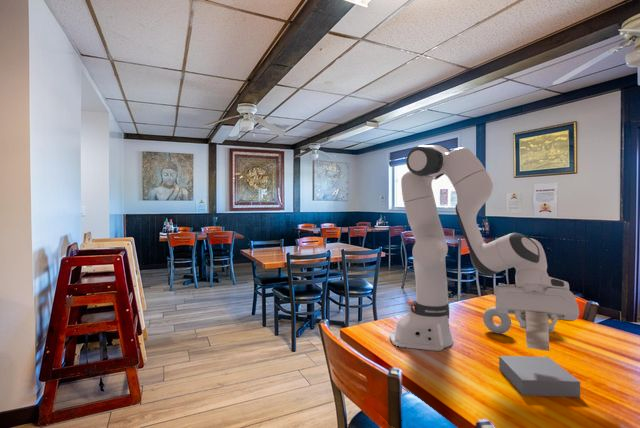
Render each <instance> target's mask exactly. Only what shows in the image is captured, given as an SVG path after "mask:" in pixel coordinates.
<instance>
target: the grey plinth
mask: <svg viewBox="0 0 640 428" xmlns="http://www.w3.org/2000/svg"><path fill="white" fill-rule="evenodd" d="M498 364H499V365H498V369H499V370H500V372H501V373H502V374H503V375H504V377H506V379H508V381H509V382H510V383H511V384H512V385H513V386H514V388H516V390H517V391H518V392H519V393H520V394H521V396H532V397H534V396H535V397H536V396H537V397H538V396H539V397H561V398H563V397H567V398H581V381H580V380H579V379H577V378H576V377H575V376H574V375H572V374H570V372H569V371H567V370H566V369H565V368H564V367H562V366H561V365H559V364H558V363H557V362H556V361H555V360H554V359H552V358H551V357H549V356H525V355H524V356H523V355H522V356H521V355H520V356H517V355H498Z"/></svg>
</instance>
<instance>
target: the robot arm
mask: <svg viewBox="0 0 640 428" xmlns="http://www.w3.org/2000/svg"><path fill="white" fill-rule="evenodd" d="M405 161H406V166H407V169H408V170H409V171H407V172H406V173H404V174H403V175H402V177H401V182H400V183H401V186H400V187H401V195H402V201H403V205H404V209H405V213H406V218H407V221H408V226H410V230H411V232H412V235H413V237H414V238H413V239H414V242H415V243H414V244H413V246H412V253H411V254H412V260H413V262H412V263H413V271H414V277H415V278H414V279H415V299H416V300H415V301H413V300H412V299H409V300H408V301H407V304H408V306H409V307H410V311H409V312H408V313H406V314H404V315H403V316H402V317H400V318H399V319H398V320H397V323H396V327H395V329H394V330H392V331H391V332H390V335H389V339H391V340H390V342H391V341H392V342H391V344H393V345H394V346H395V345H396V346H395V347H397V346H399V347H398V348H405V347H406V348H407V349H415V350H417V349H418V350H427V351H436V352H440V351H443V350H444V348H445V349H446V348H447V347H450V346H452V345H453V344H454V340H453V336H452V331H451V328H450V321H449V319H450V304H449V302H448V277H447V267H446V263H447V262H446V256H447V254H448V251H449V247H448V246H449V245H448V243H447V239H446V235H445V232H444V229H443V225H442V223H441V219H440V217H439V212H438V207H437V203H436V199H435V195H434V191H433V187H432V183H433V180H438V179H439V178H441V177H442V176H444V175H445V176H446V177H447V178H448V179H449V181H450V183H451V185H452V187H453V188H454V190H455V193H456V199H457V200H456V202H457V203H456V205H455V208H454V209H455V213H456V217H457V220H458V222H459V226H460V229H461V231H462V233H463V234H462V235H463V236H464V240H465V242H466V245H467V248H468V250H469V251H468V252H469V256H470V261H471V265H472V266H473V268H474V269H475V270H476V271H477V272H478V273H479V274H483V275H484V276H488V277H492V276H494V275H496V274H498V273H501V272H502V271H505V270H508V269H512V268H514V269H515V276H514V278H515V284H505V283H504V284H503V283H500V284H498V285H495V286H494V288H493V294H494V295H495V302H494V303H495V306H494V307H496V310H497V311H498V312H499V313H506V314H508V315H514V318H515V320H517V322H518V323H519V328H520V329H524V330H526V321H524V320H522V319H521V315H525V311H531V312H542V313H546V314H547V316H548V319H550V321H551V322H549V323H548V326H549V333H554V332H555V325H556V324H557V322H558V320H567V321H568V320H569V321H576V320H577V319H578V318H580V317H579V316H580V308H579V305H578V302H577V298H576V295H574V293H573V292H572V291H570V284H569V282H568V281H565V280H562V279H558V278H555V277H552V276H549V274H548V272H547V270H548V263H547V256H546V253H545V250H544V248H543V245H542V244H541V242H539V241H538V240H537V239H535V238H531V237H528V236H526V235H524V234H522V233H519V232H512V233H508V234H506V235H503V236H501V237H498V238H497V239H494V240H492V241H490V242H488V243H486V242H485V240H484V239H483V236H482V233H481V231H480V228H479V225H478V223H477V215H478V213H479V211H480V210H481V209H482V207H483V206H484V205H485V204H486V203H487V201H488V200H489V198H490V197H491V195H492V191H493V188H494V185H493V184H494V183H493V181H492V178H491V175H490V174H489V173H488V171H487V170H486V167H484V165H483V164H482V161H480V159H479V158H478V157H477V156H476V154H474V152H473V151H471V149H469V148H468V147H466V146H465V147H463V146H462V147H457V148H454V149H452V150H451V149H450V148H448V147H446V146H443V145H436V144H429V145H426V144H425V145H424V144H421V145H418V146H416V147H413V148H412V149H410V151H409V152H408V154H407V155H406V159H405Z"/></svg>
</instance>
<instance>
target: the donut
mask: <svg viewBox="0 0 640 428" xmlns="http://www.w3.org/2000/svg"><path fill="white" fill-rule="evenodd" d="M494 317H498V319H500V323H499V324H497V323H495V322H494V321H493V318H494ZM511 319H512V318H511V316H510V314H506V313H499V312H498V311H497V310H496V307H495V306H492V307H488V308H487V309H485V311H484V312H483V315H482V320H483V321H482V322H483V323H484V326H485V327H486V328H487V329H488V330H489V331H490V332H492V333H495V334H498V335H499V334H505V333H507V332H508V331H510V329H511V327H512V320H511Z"/></svg>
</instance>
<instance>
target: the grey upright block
mask: <svg viewBox="0 0 640 428" xmlns="http://www.w3.org/2000/svg"><path fill="white" fill-rule="evenodd" d="M525 321H526V329H525V343H526V347H527V349H532V350H538V351H539V350H541V351H547V352H549V351H550V332H549V326H548V321H549V318H548V316H547V314H546V313H542V312H531V311H525Z"/></svg>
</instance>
